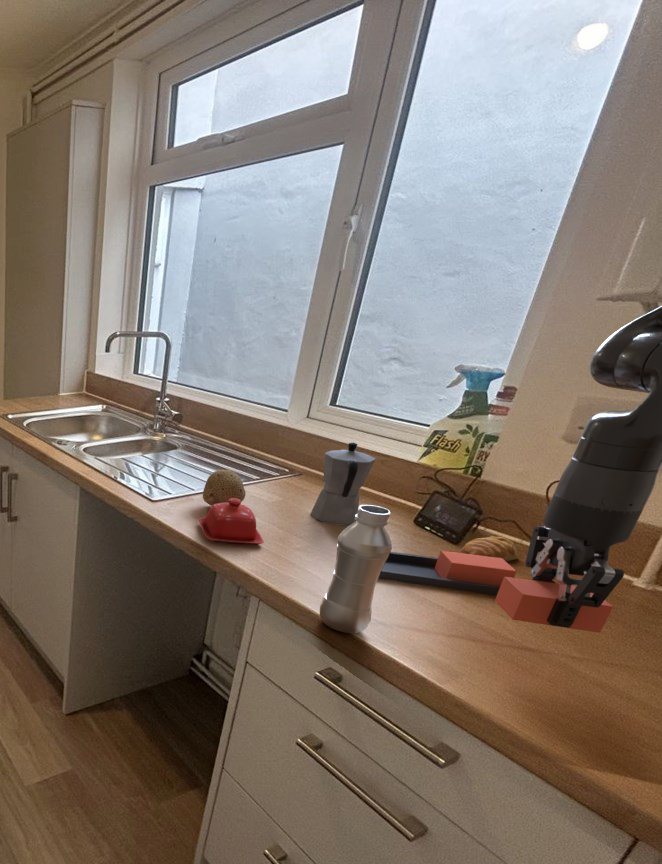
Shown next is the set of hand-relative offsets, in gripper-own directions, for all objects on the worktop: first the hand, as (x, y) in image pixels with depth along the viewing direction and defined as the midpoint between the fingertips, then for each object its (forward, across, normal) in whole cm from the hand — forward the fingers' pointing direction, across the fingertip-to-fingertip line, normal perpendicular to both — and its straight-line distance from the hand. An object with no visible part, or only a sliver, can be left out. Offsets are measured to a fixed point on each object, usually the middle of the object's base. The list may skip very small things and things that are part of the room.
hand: (545, 613), depth 71 cm
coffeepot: (+8, +48, +14) cm, 51 cm away
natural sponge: (+8, +46, +38) cm, 60 cm away
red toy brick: (0, 0, 0) cm, 0 cm away
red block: (+8, +24, -2) cm, 25 cm away
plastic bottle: (+8, +1, +22) cm, 24 cm away
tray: (+8, +24, +3) cm, 26 cm away
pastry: (+9, +37, -10) cm, 39 cm away
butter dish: (+8, +31, +37) cm, 49 cm away
